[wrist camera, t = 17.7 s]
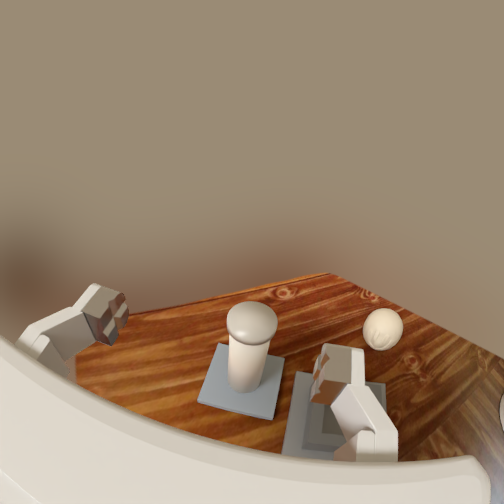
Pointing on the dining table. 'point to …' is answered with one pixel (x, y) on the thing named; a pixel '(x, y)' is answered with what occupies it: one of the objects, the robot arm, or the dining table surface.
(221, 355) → the mat
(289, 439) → the socket collar
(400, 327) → the cream rounded ball
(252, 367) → the plug
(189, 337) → the dining table surface
